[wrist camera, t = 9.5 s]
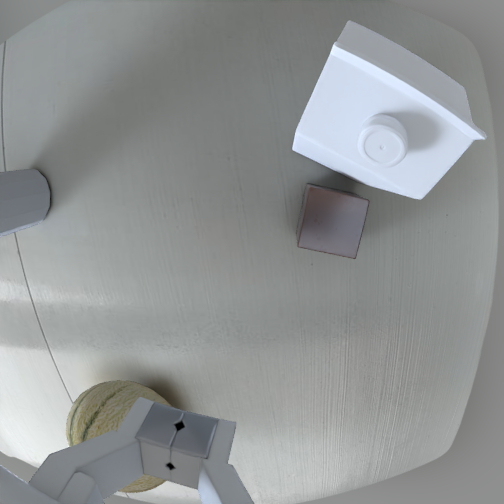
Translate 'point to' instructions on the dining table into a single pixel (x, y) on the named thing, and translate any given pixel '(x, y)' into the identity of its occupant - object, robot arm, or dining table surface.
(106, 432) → the robot arm
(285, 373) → the dining table surface
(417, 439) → the dining table surface
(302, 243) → the walnut block
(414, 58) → the milk carton
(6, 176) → the water bottle
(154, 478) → the cantaloupe
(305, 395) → the dining table surface
